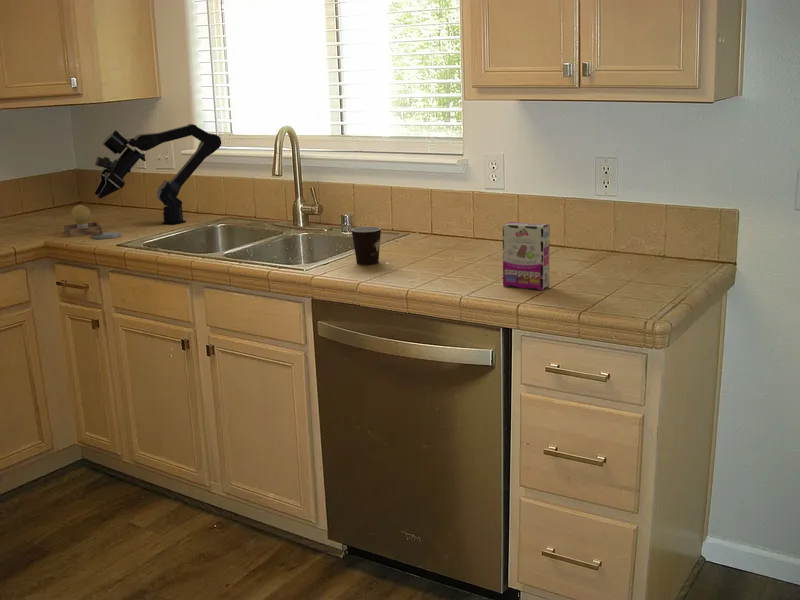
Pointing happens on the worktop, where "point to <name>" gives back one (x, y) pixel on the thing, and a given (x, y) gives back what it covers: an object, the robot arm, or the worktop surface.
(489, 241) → the worktop surface
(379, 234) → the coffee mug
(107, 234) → the slate coaster
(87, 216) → the light bulb
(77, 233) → the walnut crate
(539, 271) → the candy bar box
